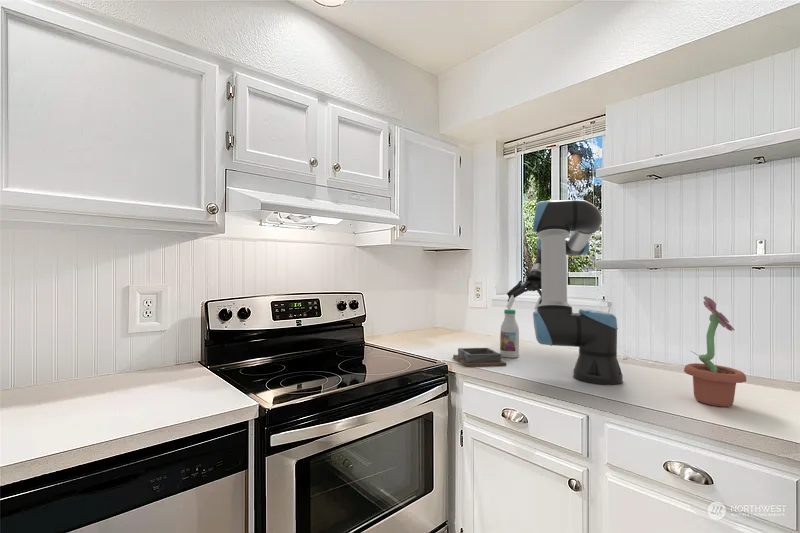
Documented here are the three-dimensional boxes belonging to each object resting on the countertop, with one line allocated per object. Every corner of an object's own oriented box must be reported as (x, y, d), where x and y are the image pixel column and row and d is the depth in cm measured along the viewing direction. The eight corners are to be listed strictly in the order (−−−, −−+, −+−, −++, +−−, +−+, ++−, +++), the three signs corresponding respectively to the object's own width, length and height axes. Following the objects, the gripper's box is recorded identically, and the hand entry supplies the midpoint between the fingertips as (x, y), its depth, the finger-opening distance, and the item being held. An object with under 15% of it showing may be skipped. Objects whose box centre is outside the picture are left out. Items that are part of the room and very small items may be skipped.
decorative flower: (753, 416, 103) (754, 299, 104) (687, 406, 110) (688, 296, 110) (739, 400, 116) (739, 296, 117) (681, 392, 123) (681, 294, 123)
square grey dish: (506, 365, 155) (506, 354, 155) (466, 366, 153) (466, 355, 153) (489, 356, 171) (489, 346, 171) (453, 357, 168) (453, 347, 168)
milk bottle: (507, 353, 178) (507, 308, 178) (522, 356, 172) (522, 309, 172) (496, 355, 173) (496, 309, 173) (511, 359, 167) (512, 310, 168)
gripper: (566, 281, 184) (551, 316, 174) (516, 280, 202) (500, 312, 191) (561, 269, 181) (546, 305, 170) (510, 269, 198) (494, 301, 187)
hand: (521, 309), depth 181 cm, fingers open, 13 cm apart
